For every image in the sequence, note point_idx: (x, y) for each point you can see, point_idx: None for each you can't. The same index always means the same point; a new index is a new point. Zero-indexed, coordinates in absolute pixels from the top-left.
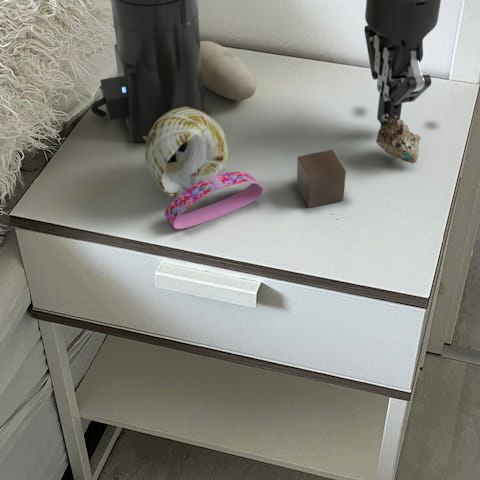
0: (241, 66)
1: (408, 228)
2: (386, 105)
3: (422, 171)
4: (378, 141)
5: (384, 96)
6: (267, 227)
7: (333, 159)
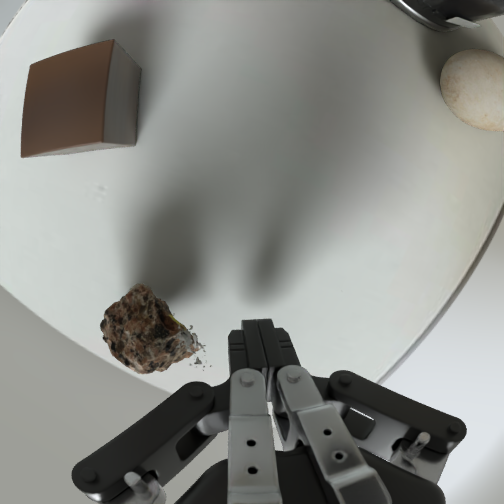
0: (499, 104)
1: (3, 246)
2: (247, 361)
3: None
4: (135, 288)
5: (243, 378)
6: (66, 14)
7: (62, 134)
